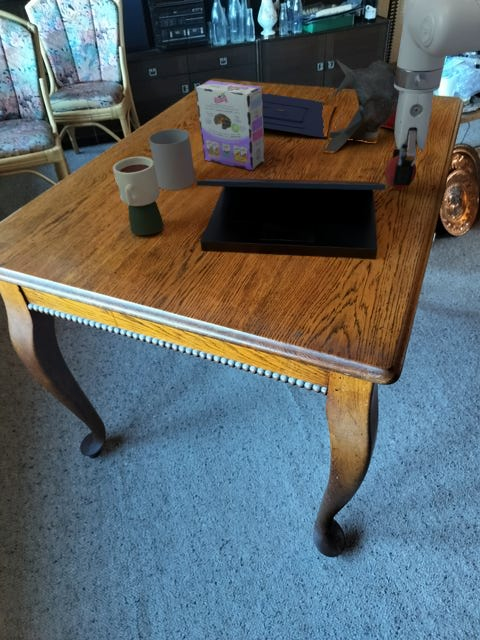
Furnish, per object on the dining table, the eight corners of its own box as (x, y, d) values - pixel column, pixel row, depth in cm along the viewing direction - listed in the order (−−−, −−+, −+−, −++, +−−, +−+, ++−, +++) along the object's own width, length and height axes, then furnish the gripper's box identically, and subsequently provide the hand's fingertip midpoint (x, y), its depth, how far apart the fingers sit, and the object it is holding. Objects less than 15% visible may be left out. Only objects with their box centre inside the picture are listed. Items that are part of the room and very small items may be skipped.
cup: (176, 194, 99) (169, 147, 92) (149, 184, 103) (140, 140, 96) (202, 178, 104) (197, 133, 97) (175, 170, 108) (168, 126, 101)
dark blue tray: (233, 99, 138) (234, 86, 135) (334, 114, 134) (337, 101, 131) (210, 131, 121) (210, 116, 118) (325, 149, 117) (327, 134, 114)
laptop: (375, 259, 78) (377, 248, 76) (201, 250, 83) (200, 240, 81) (372, 195, 94) (373, 185, 92) (225, 191, 99) (224, 182, 97)
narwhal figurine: (389, 158, 106) (403, 71, 93) (322, 152, 110) (327, 68, 98) (395, 133, 115) (409, 52, 103) (334, 129, 120) (339, 51, 107)
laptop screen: (385, 190, 72) (386, 184, 71) (196, 186, 77) (196, 180, 76) (373, 186, 92) (373, 181, 92) (224, 182, 97) (224, 178, 97)
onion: (385, 181, 97) (391, 143, 91) (414, 185, 95) (422, 146, 89) (380, 194, 93) (386, 155, 87) (410, 198, 91) (418, 158, 86)
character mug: (138, 215, 94) (123, 151, 85) (172, 215, 93) (160, 151, 84) (121, 245, 86) (102, 179, 77) (159, 246, 85) (144, 179, 76)
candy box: (265, 161, 108) (263, 85, 97) (252, 171, 105) (248, 94, 94) (217, 151, 114) (210, 78, 103) (203, 160, 111) (194, 86, 100)
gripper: (448, 93, 73) (425, 198, 85) (434, 62, 85) (415, 158, 97) (398, 93, 74) (382, 197, 86) (392, 63, 87) (378, 157, 99)
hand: (400, 175), depth 92 cm, fingers closed on onion, 6 cm apart
